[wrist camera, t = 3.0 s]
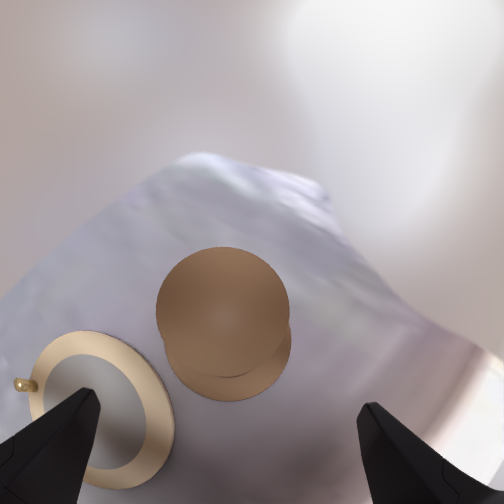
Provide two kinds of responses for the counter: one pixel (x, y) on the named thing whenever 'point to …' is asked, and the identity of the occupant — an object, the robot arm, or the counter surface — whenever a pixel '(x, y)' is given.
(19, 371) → the counter surface
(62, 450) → the robot arm
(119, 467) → the plate
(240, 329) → the brown flanged knob
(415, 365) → the counter surface
